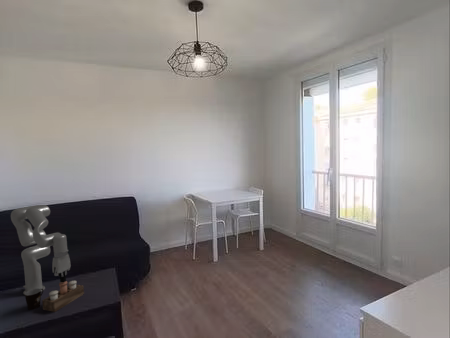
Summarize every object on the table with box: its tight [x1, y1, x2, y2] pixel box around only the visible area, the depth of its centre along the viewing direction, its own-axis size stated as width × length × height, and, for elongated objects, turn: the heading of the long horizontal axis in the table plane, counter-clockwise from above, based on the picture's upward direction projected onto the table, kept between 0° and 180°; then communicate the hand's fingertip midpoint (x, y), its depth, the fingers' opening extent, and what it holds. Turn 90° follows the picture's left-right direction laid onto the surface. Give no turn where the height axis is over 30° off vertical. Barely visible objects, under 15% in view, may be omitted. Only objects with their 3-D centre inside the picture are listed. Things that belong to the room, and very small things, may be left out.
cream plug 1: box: [48, 290, 59, 301], centre depth 174 cm, size 5×5×8 cm
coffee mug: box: [24, 288, 44, 311], centre depth 177 cm, size 12×9×10 cm
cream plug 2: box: [67, 280, 77, 290], centre depth 188 cm, size 5×5×8 cm
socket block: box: [41, 284, 85, 313], centre depth 181 cm, size 10×22×6 cm, turn 161°
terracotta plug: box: [58, 280, 68, 295], centre depth 181 cm, size 5×5×8 cm
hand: (63, 281), depth 180 cm, fingers closed
